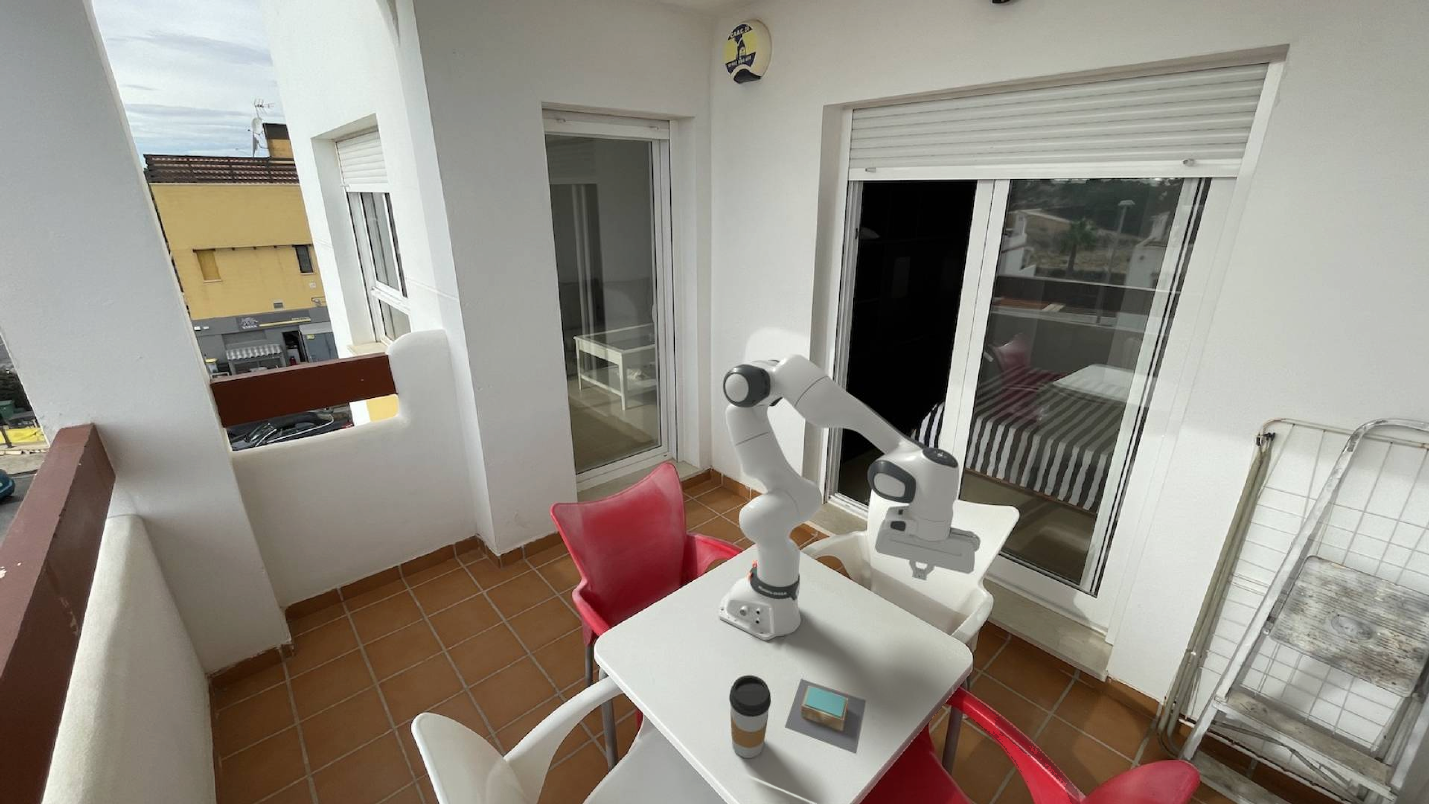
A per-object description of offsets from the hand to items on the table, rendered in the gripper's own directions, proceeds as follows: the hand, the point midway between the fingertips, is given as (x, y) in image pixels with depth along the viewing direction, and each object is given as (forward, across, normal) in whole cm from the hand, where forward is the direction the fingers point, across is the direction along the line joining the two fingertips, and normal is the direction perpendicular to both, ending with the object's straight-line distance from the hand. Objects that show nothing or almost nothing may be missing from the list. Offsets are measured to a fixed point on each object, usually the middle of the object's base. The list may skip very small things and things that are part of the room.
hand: (919, 577), depth 120 cm
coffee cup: (+29, +28, +31) cm, 51 cm away
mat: (+29, +15, +17) cm, 37 cm away
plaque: (+27, +11, +17) cm, 34 cm away
